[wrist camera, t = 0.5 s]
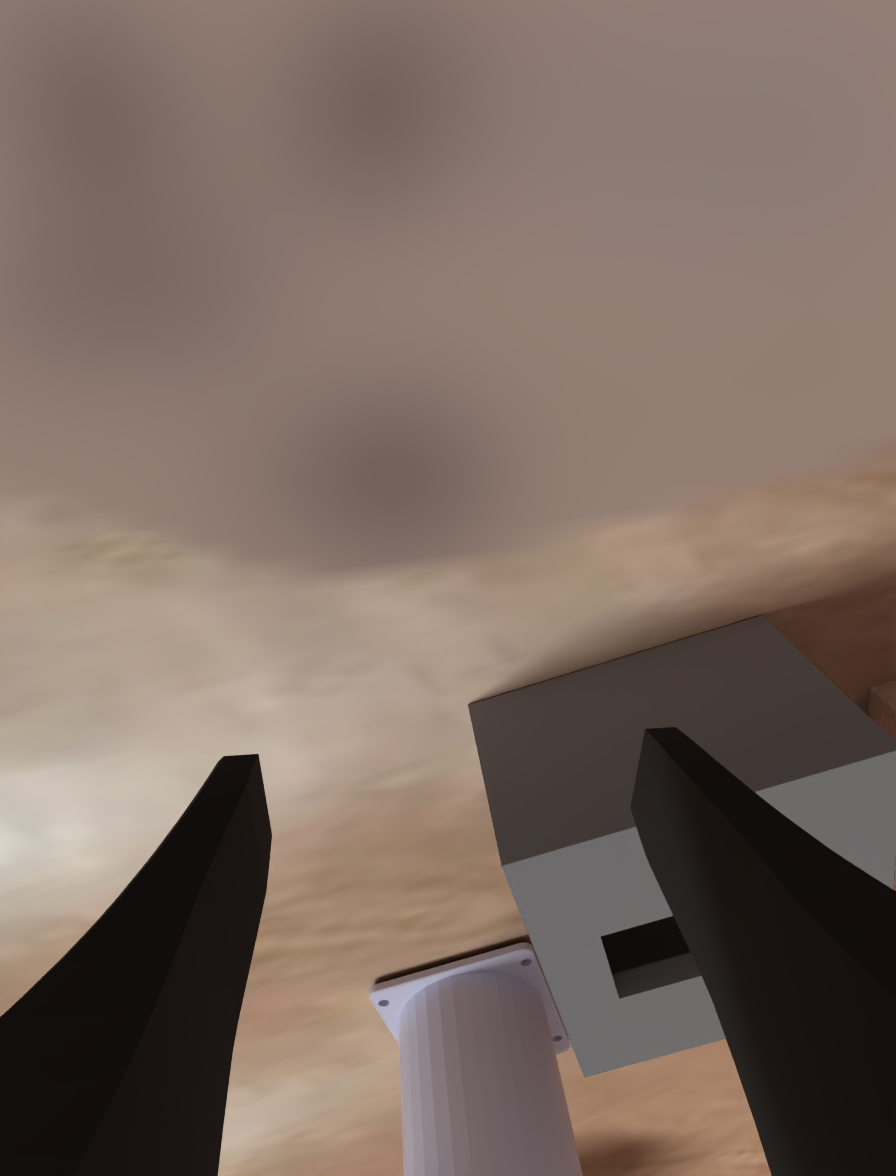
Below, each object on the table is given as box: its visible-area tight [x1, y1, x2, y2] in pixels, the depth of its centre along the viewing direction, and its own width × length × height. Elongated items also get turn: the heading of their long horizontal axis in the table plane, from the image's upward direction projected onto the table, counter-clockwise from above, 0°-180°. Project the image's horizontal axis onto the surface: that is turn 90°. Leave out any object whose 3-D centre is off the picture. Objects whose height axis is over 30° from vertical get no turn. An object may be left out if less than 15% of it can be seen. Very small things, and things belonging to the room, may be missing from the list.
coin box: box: [468, 615, 896, 1077], centre depth 23 cm, size 12×11×7 cm
